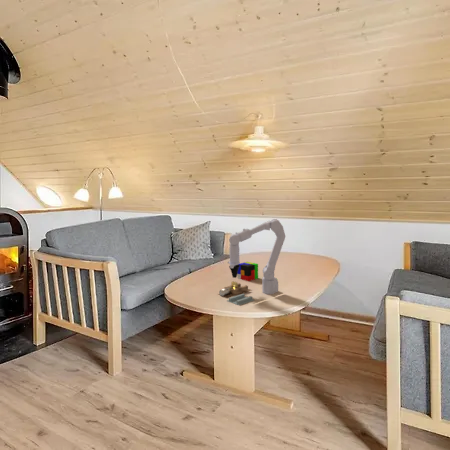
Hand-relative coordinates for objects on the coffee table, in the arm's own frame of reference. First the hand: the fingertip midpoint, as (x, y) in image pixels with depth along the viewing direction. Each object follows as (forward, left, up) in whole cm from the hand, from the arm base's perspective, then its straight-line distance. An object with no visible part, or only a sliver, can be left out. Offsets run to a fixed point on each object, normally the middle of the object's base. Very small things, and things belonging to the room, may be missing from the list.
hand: (234, 277), depth 218 cm
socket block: (0, 0, -10) cm, 10 cm away
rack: (+8, +13, -10) cm, 18 cm away
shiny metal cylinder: (+7, 0, -9) cm, 11 cm away
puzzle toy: (-29, -18, -10) cm, 36 cm away
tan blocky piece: (+1, 0, -9) cm, 9 cm away
